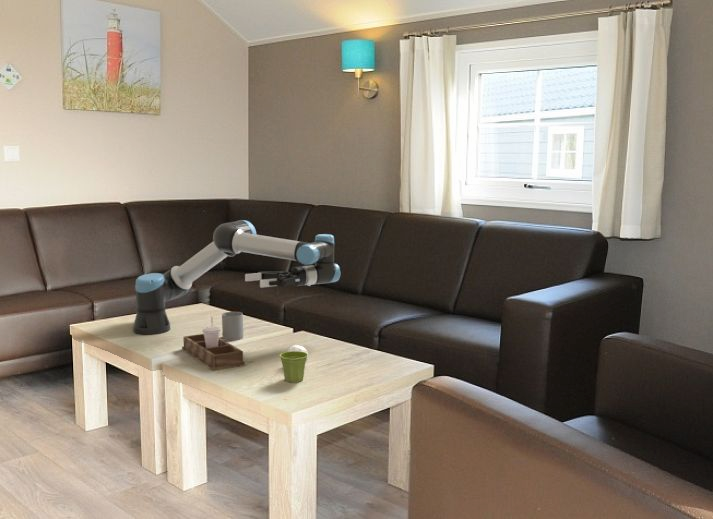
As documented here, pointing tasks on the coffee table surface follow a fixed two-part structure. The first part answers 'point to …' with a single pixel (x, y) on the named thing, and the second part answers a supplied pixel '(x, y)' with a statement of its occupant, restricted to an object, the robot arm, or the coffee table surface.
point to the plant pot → (293, 365)
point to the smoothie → (211, 335)
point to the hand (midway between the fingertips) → (252, 280)
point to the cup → (232, 326)
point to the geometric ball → (298, 349)
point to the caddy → (213, 352)
